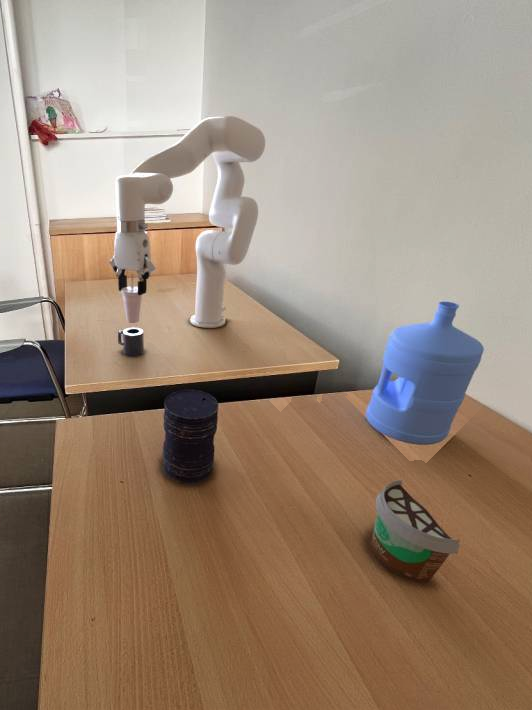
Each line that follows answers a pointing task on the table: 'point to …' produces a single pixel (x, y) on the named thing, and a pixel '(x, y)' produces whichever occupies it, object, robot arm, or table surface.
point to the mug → (132, 341)
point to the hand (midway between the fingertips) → (132, 291)
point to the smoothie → (132, 302)
